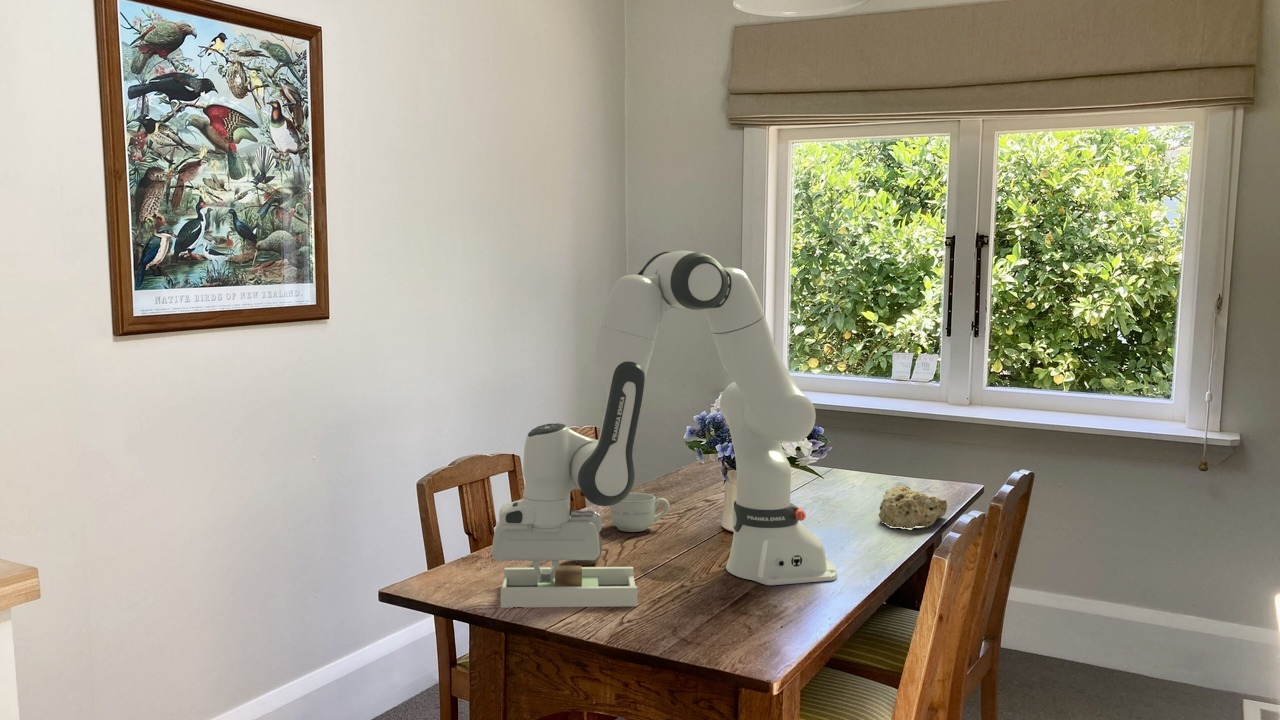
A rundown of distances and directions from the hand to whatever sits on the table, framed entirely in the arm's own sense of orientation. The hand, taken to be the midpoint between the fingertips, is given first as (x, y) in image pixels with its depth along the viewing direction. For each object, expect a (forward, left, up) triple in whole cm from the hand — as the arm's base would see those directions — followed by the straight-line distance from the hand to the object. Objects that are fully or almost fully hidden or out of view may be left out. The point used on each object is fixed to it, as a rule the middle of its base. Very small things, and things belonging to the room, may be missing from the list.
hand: (545, 581), depth 184 cm
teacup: (-21, -43, -3) cm, 48 cm away
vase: (-8, -19, -3) cm, 21 cm away
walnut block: (-4, 0, -1) cm, 4 cm away
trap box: (-4, 0, -3) cm, 5 cm away
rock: (-89, -50, -3) cm, 102 cm away
